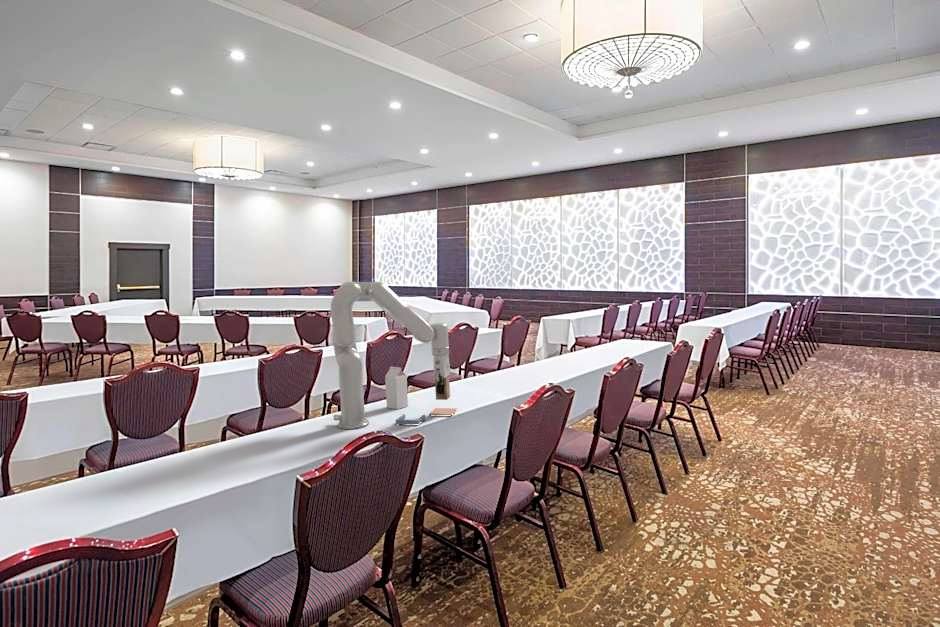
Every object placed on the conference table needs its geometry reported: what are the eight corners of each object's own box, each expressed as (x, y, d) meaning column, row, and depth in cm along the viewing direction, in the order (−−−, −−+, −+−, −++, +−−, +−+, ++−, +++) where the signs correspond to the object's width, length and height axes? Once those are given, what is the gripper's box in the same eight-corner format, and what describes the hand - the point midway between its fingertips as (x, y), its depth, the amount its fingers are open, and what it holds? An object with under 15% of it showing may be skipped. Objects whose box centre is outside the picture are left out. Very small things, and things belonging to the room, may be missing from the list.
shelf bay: (395, 424, 224) (395, 420, 223) (403, 418, 232) (403, 414, 232) (418, 425, 221) (418, 420, 221) (425, 419, 230) (425, 414, 230)
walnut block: (436, 399, 236) (434, 377, 235) (439, 396, 241) (438, 374, 240) (447, 399, 235) (445, 377, 234) (450, 396, 240) (448, 374, 239)
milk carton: (397, 409, 248) (395, 369, 247) (386, 407, 252) (384, 367, 251) (408, 406, 254) (406, 366, 252) (397, 404, 258) (395, 365, 257)
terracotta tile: (429, 416, 235) (428, 413, 235) (435, 410, 245) (435, 408, 244) (451, 416, 233) (451, 414, 232) (456, 410, 242) (456, 408, 242)
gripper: (443, 354, 227) (445, 396, 229) (453, 348, 244) (455, 387, 245) (426, 354, 229) (428, 396, 230) (437, 348, 245) (440, 387, 247)
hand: (442, 391), depth 238 cm, fingers closed on walnut block, 5 cm apart
